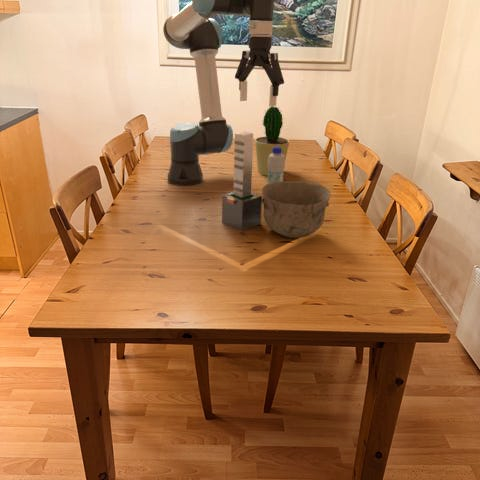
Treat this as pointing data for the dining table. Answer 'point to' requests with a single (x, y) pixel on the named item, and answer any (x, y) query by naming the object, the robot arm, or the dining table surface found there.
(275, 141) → the potted cactus
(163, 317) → the dining table surface
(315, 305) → the dining table surface
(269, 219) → the bowl
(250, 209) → the stand base
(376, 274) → the dining table surface
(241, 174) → the column
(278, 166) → the bottle
